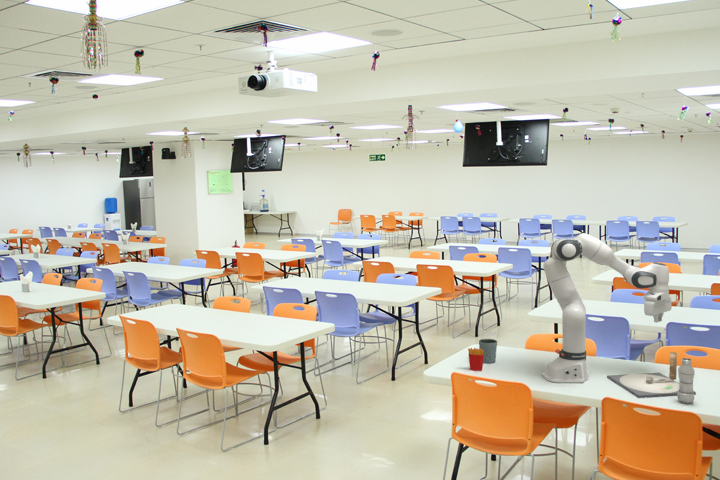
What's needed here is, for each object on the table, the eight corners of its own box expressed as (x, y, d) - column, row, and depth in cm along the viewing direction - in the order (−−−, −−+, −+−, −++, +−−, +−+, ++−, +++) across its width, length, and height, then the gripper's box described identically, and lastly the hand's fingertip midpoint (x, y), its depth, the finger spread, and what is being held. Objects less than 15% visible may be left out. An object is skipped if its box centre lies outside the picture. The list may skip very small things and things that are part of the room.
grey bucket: (476, 362, 321) (475, 341, 320) (483, 357, 329) (483, 337, 328) (493, 365, 315) (493, 344, 314) (499, 360, 323) (499, 339, 322)
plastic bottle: (692, 406, 252) (693, 362, 250) (675, 402, 257) (676, 359, 255) (695, 401, 257) (697, 358, 255) (678, 398, 261) (680, 356, 259)
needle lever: (648, 383, 276) (649, 355, 275) (644, 381, 279) (645, 353, 278) (677, 381, 278) (678, 353, 276) (673, 379, 281) (674, 351, 279)
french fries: (484, 369, 309) (484, 347, 307) (483, 371, 305) (483, 349, 304) (468, 367, 312) (468, 346, 310) (467, 370, 308) (467, 348, 307)
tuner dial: (638, 398, 263) (638, 394, 263) (607, 377, 291) (607, 374, 291) (695, 394, 265) (695, 391, 265) (659, 374, 293) (659, 371, 293)
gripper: (662, 291, 293) (662, 317, 295) (641, 296, 281) (641, 323, 283) (675, 292, 288) (674, 319, 289) (654, 298, 276) (653, 326, 278)
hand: (657, 321), depth 286 cm, fingers closed
